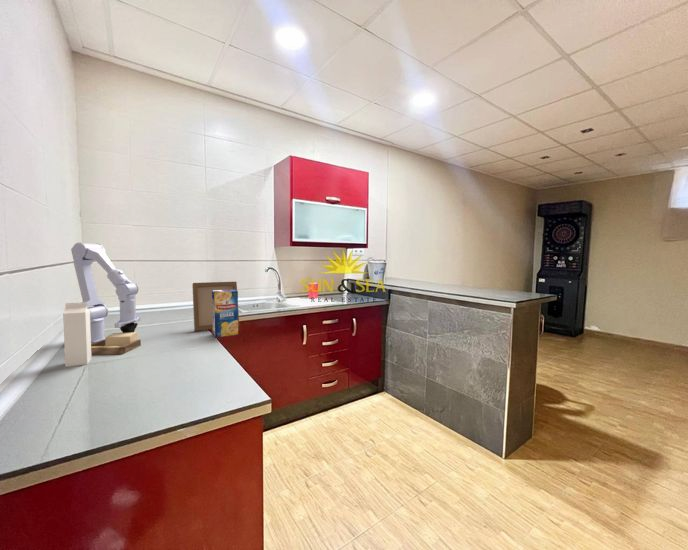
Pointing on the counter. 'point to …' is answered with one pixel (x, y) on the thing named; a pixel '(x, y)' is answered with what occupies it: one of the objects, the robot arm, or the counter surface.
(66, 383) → the counter surface
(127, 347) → the display stand
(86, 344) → the milk
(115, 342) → the carton
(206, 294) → the photo frame
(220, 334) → the blue cardboard box
